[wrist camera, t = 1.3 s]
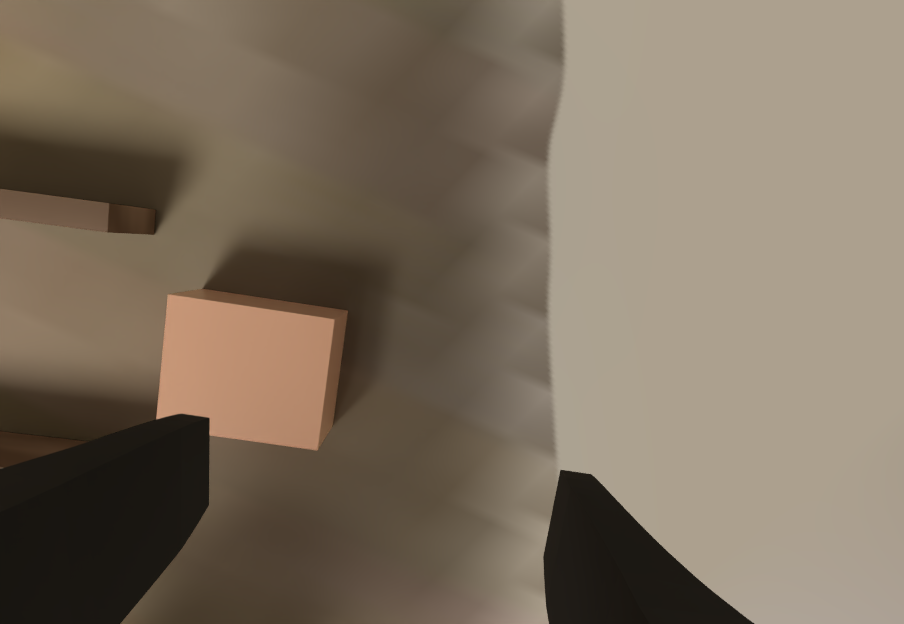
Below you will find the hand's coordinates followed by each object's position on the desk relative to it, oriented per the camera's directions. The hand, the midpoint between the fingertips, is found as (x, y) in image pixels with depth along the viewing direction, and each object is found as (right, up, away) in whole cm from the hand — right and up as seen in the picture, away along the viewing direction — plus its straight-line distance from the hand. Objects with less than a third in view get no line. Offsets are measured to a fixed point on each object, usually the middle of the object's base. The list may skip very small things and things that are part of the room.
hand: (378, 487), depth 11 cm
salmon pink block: (-6, +2, +12) cm, 13 cm away
